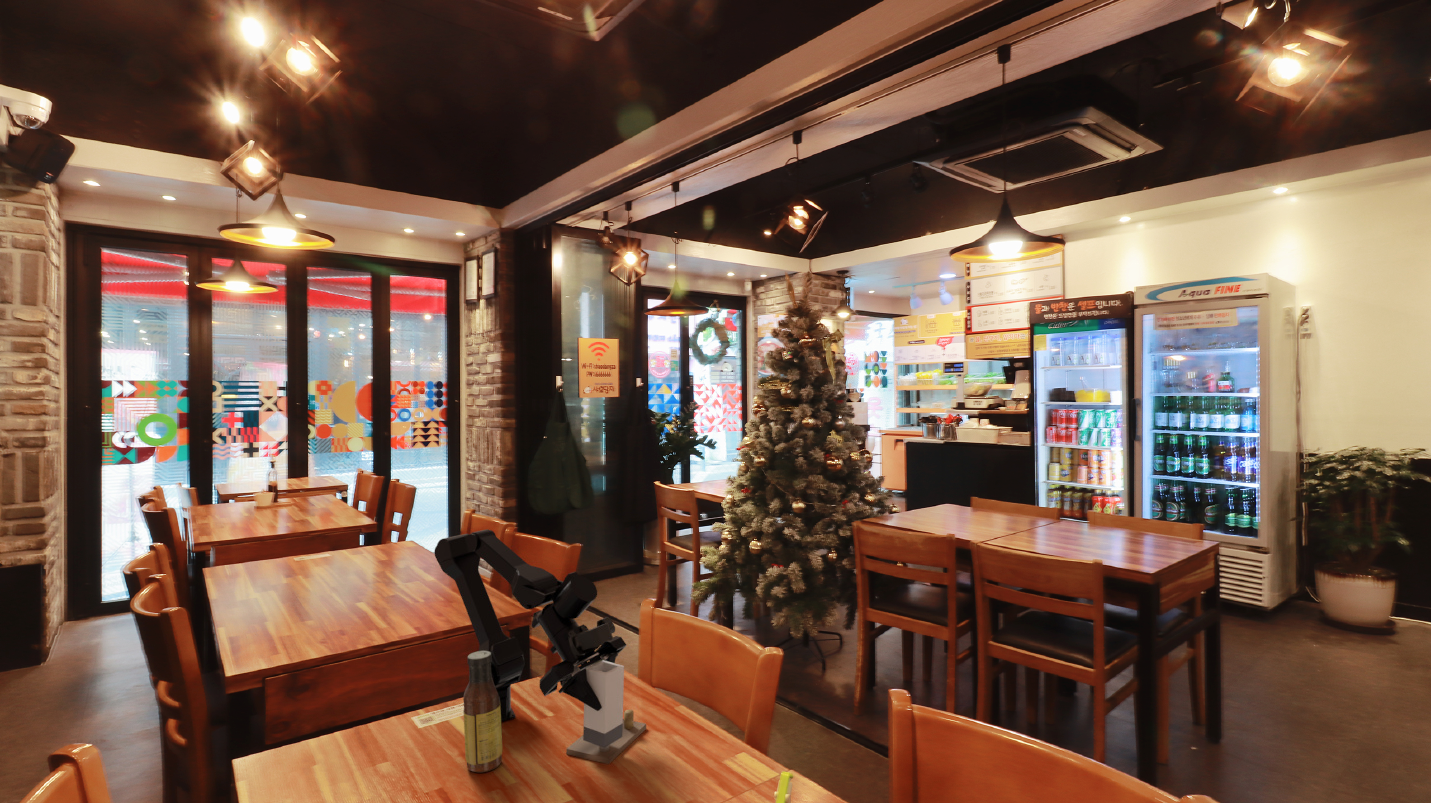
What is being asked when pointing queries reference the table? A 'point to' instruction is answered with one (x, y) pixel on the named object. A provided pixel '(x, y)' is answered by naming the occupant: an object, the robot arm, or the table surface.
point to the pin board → (613, 750)
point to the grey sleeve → (605, 704)
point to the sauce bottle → (482, 716)
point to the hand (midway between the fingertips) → (609, 703)
